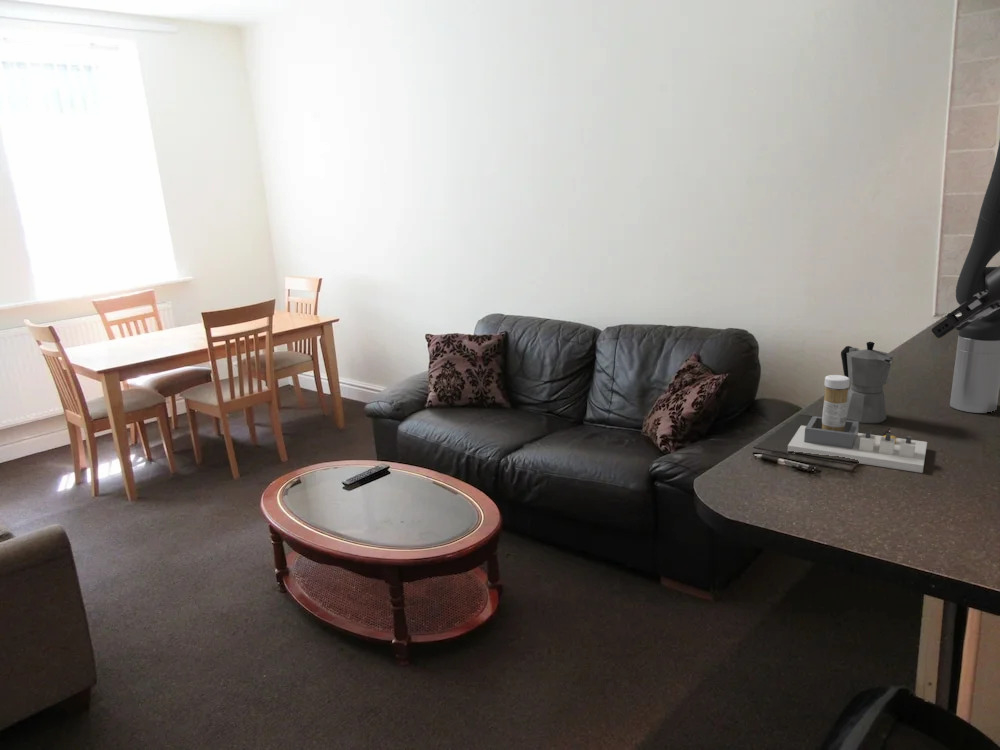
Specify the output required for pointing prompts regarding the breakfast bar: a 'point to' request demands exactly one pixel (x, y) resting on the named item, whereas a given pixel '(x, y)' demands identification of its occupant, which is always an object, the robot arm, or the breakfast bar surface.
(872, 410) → the coffeepot
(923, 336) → the breakfast bar surface
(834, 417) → the sprinkles bottle
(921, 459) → the breaker panel
